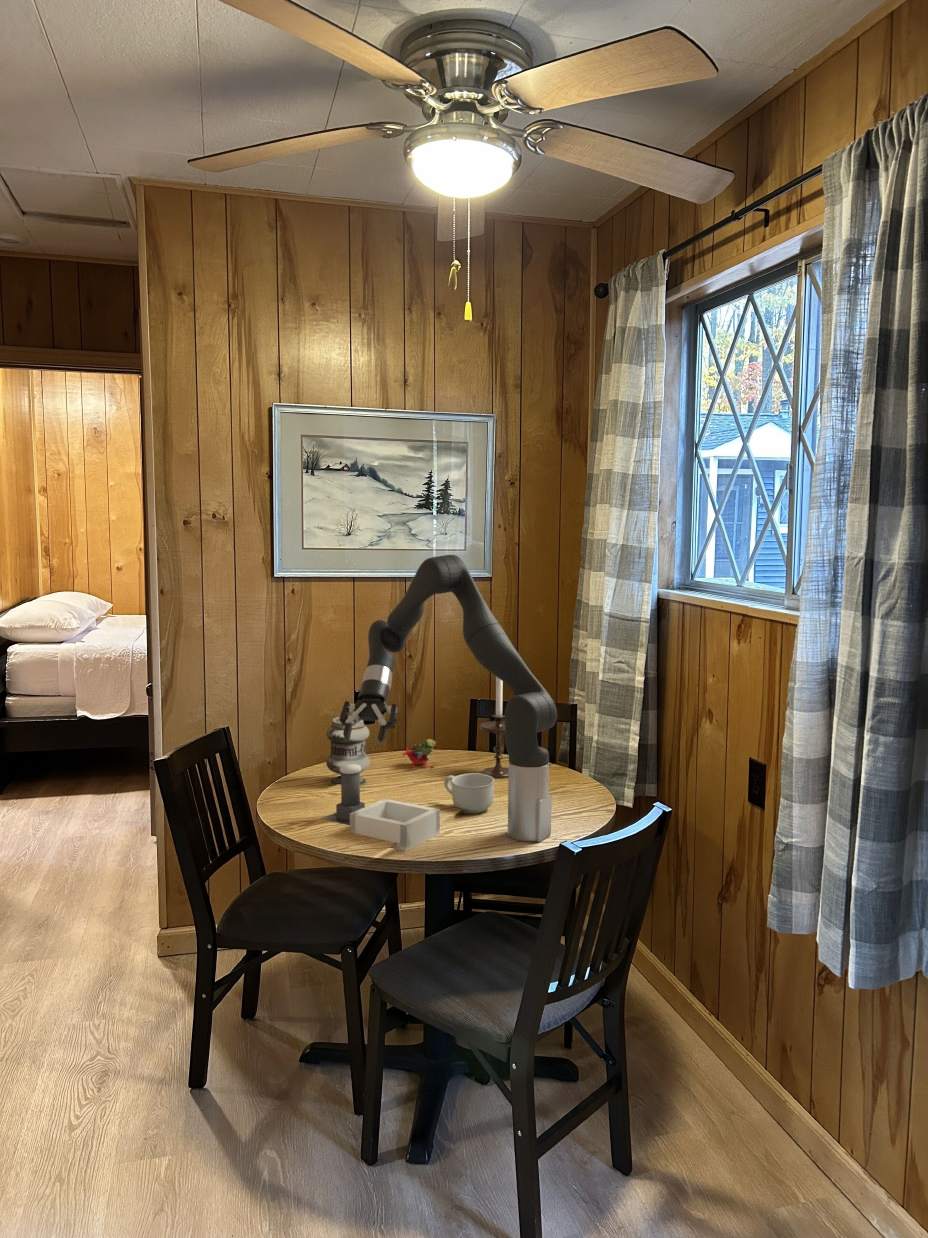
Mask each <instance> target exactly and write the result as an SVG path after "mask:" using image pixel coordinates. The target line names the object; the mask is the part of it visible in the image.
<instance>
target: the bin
mask: <svg viewBox="0 0 928 1238" xmlns="http://www.w3.org/2000/svg"><path fill="white" fill-rule="evenodd" d="M440 812H441V810H440V809H439V808H433V807H429V806H425V805H419V804H413V803H408V802H403V801H398V800H395V799H394V800H393V799H389V798H384V799H381V800H378V801H377V802H374V803H371V804H369V805H367V806H365V807H364V808H362V809H360V810H357V811H355V812H353V813H350V825H349V833H351V834H356V835H361V836H364V837H369V838H373V839H379V840H382V841H383V840H384V841H387V842H391V843H395V844H393V845H391V846H389V847H388V848H391V849H395V850H399V851H403V852H407V851H409V850H411V849H413V848H415V847H417V846H419V845H421V844H423V843H425V842H427V841H429V840H430V839H432V838H435V837H437V836H438V835H440V833H441V832H440V825H441V823H440V822H441V820H440V819H441V817H440V816H441V815H440V814H441V813H440Z"/></svg>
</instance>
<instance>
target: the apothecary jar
mask: <svg viewBox="0 0 928 1238" xmlns="http://www.w3.org/2000/svg"><path fill="white" fill-rule="evenodd" d="M350 716H351V715H349V716H348V718H349V717H350ZM339 718H340V716H337V717H335V718H333V719H332V721H331V722H332V723H331V725H330V727H329V728H327V730H326V737H327V739H328V740H330V755H329V756H328V757H327V759H326V762H325V763H326V767H327V768H328V770H330V771H331V772H333V773H335V774H338V776H335V777H333V778H331V779H330V782H329V783H330V784H331V785H332V786H337V785H339V786H341V772H340V766H342V765H347V764H356V765H360V766H361V772H360V774H361V773H363V772H365V771H366V770H367V769H368V768H369V766H371V765H370V764H371V760H370V756H368V754H366V753H367V752H366V739H368V738H369V736H370V729H369V727H368V726H366V725H365V723H364V721H363V720H361V721H360V722H359V723H356V724H355V725H354V726H353V727H352V731H351V735H350V739H349V740H346V739H345V737H344V735H343V732H344V728H345V725H344V726H343V725H341V722H340V720H339ZM366 783H367V780H366V779H365V778H364V777H362V776H360V786H364V785H365V784H366Z"/></svg>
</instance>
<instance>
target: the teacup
mask: <svg viewBox="0 0 928 1238" xmlns="http://www.w3.org/2000/svg"><path fill="white" fill-rule="evenodd" d="M450 781H451V785H450ZM443 783H444V788H445V789H446V791H447V792H448V793H449V794H450V795H451V796H452V802H453V805H455V807H456V808H458V809H462V810H461V811H462V812H463V813H467V814H479V813H483V812H486V811H487V810H488V808H490V807H491V806H492V804H493V803H494V796H495V794H494V793H495V785H494V784H495V778H493V777H491V776H489V775H485V774H483V773H479V772H478V773H475V772H474V773H473V772H471V773H469V772H468V773H462V774H458V775H455V776H454V775H451V774H450V775H448V776H446V777H445V779H444V781H443Z"/></svg>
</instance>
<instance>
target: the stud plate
mask: <svg viewBox="0 0 928 1238" xmlns="http://www.w3.org/2000/svg"><path fill="white" fill-rule="evenodd" d="M320 820H325V821H328V822H329V821H330V822H334V823H338V824H342V825H346V826H350V820H345V819H341V818H336V812H334V813H331V814H328V815H326V816H324V817H322V818H320Z"/></svg>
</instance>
